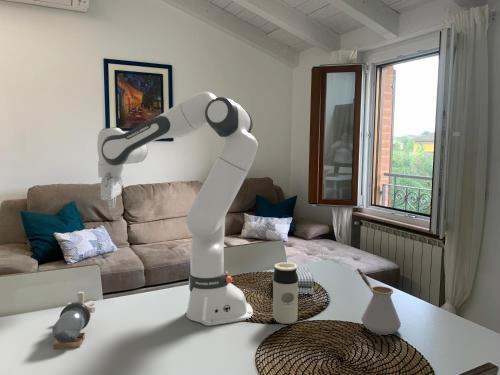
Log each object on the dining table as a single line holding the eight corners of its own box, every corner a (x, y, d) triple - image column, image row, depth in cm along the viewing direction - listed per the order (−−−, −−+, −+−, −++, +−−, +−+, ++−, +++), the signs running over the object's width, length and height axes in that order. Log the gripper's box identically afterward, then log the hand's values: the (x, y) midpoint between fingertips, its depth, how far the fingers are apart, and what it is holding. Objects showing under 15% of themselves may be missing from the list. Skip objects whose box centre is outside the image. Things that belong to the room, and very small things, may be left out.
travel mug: (274, 313, 131) (274, 261, 130) (297, 314, 130) (298, 262, 129) (272, 323, 124) (272, 268, 122) (297, 325, 123) (298, 270, 121)
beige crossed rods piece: (81, 331, 117) (81, 299, 116) (55, 326, 120) (56, 294, 120) (104, 320, 126) (104, 290, 126) (79, 315, 129) (80, 286, 129)
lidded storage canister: (61, 332, 117) (60, 303, 116) (91, 330, 118) (90, 301, 117) (50, 349, 107) (48, 317, 106) (82, 347, 108) (81, 315, 108)
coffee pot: (408, 336, 115) (410, 288, 114) (373, 340, 113) (375, 291, 111) (370, 308, 136) (372, 266, 135) (340, 311, 133) (341, 268, 132)
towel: (275, 296, 147) (275, 276, 146) (271, 280, 165) (271, 262, 165) (315, 296, 148) (315, 276, 147) (306, 280, 166) (307, 262, 165)
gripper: (114, 173, 133) (115, 213, 134) (124, 170, 153) (125, 205, 154) (95, 173, 132) (96, 213, 133) (107, 170, 152) (108, 205, 153)
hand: (112, 209), depth 144 cm, fingers closed
